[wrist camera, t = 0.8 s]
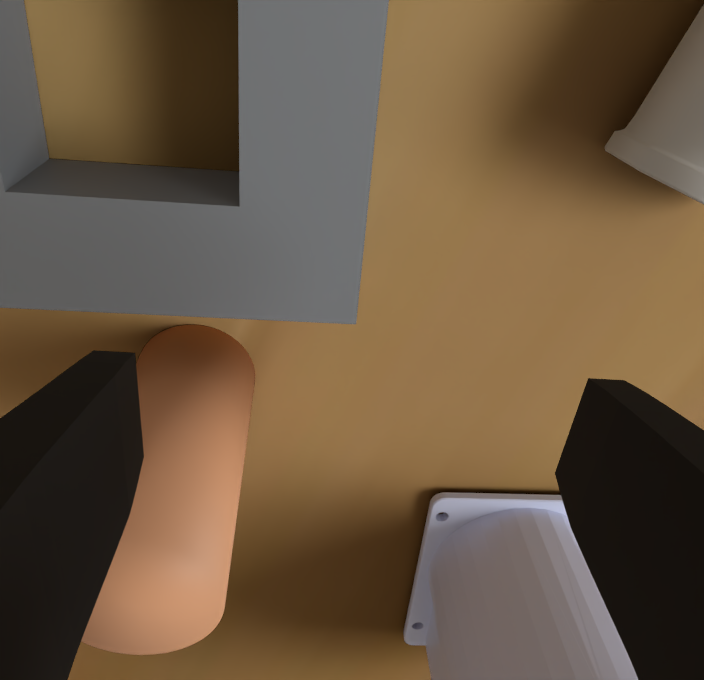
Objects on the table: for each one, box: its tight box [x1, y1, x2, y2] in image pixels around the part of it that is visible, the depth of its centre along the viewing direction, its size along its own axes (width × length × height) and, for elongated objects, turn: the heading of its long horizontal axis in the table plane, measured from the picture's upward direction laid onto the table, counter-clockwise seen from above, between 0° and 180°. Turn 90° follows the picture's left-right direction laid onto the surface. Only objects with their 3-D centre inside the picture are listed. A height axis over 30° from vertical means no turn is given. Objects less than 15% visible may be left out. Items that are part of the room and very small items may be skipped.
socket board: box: [0, 0, 389, 324], centre depth 15 cm, size 12×12×3 cm
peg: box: [81, 325, 255, 655], centre depth 18 cm, size 4×4×9 cm
